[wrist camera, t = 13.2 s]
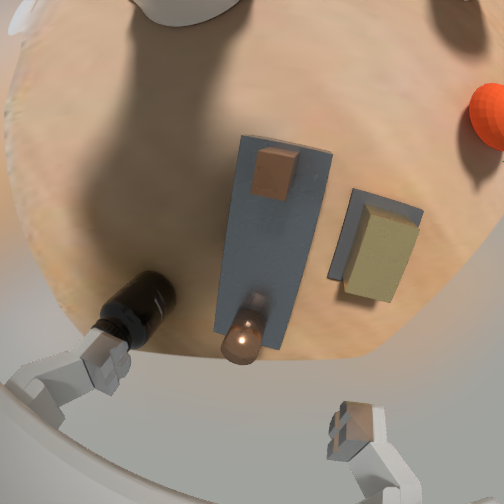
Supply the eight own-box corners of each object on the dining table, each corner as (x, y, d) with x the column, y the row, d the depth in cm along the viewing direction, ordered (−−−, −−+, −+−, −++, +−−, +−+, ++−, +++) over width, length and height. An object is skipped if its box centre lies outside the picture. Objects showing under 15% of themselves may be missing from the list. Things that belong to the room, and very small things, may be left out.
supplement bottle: (186, 297, 37) (141, 357, 26) (160, 319, 40) (117, 374, 29) (150, 259, 36) (94, 309, 25) (127, 285, 39) (76, 333, 28)
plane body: (251, 134, 27) (218, 136, 18) (330, 151, 26) (337, 160, 17) (223, 312, 37) (195, 366, 28) (283, 329, 36) (270, 388, 27)
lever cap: (364, 203, 27) (371, 214, 23) (408, 216, 26) (420, 229, 22) (342, 273, 30) (344, 292, 27) (383, 283, 30) (390, 302, 26)
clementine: (502, 162, 21) (539, 174, 15) (457, 150, 22) (491, 158, 16) (503, 96, 18) (540, 93, 11) (457, 79, 19) (490, 69, 13)
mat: (352, 188, 27) (353, 189, 26) (422, 209, 26) (423, 211, 25) (327, 274, 31) (327, 277, 31) (391, 290, 30) (392, 293, 30)
